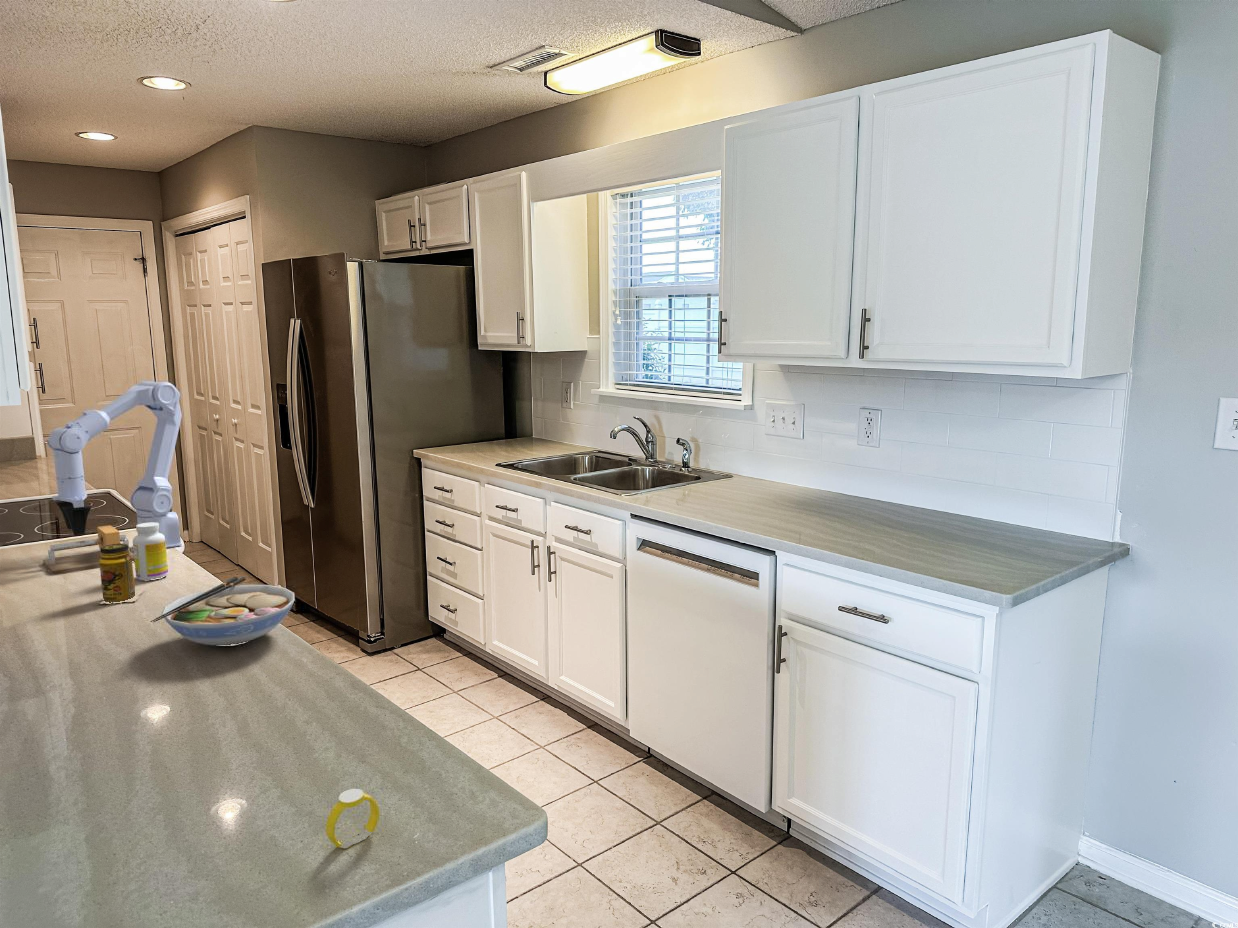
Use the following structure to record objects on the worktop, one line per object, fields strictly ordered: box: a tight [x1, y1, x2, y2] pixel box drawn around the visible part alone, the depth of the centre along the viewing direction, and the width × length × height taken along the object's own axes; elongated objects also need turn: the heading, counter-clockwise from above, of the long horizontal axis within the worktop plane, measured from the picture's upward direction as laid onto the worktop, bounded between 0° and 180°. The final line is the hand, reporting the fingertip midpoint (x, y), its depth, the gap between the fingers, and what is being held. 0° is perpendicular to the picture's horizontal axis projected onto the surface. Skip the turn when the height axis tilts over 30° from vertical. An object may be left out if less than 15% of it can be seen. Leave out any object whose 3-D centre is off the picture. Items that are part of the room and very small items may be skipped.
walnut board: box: [42, 550, 134, 576], centre depth 209 cm, size 18×13×1 cm
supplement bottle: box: [132, 522, 169, 581], centre depth 196 cm, size 7×7×13 cm
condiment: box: [99, 542, 136, 603], centre depth 181 cm, size 7×8×12 cm
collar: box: [97, 524, 121, 550], centre depth 211 cm, size 3×9×6 cm, turn 42°
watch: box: [325, 788, 380, 848], centre depth 96 cm, size 6×3×6 cm, turn 137°
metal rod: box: [47, 534, 131, 566], centre depth 208 cm, size 17×2×5 cm, turn 132°
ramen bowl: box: [150, 576, 295, 646], centre depth 158 cm, size 25×23×8 cm
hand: (76, 531), depth 206 cm, fingers open, 7 cm apart
